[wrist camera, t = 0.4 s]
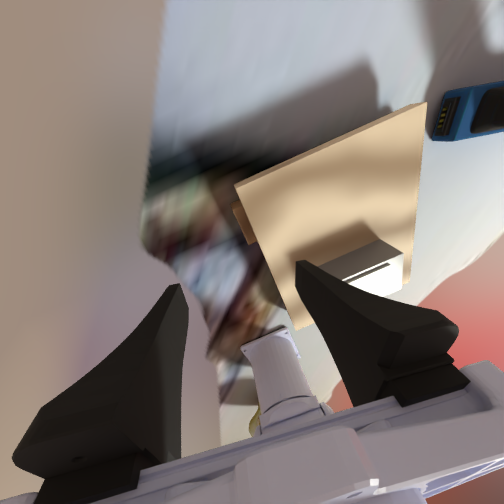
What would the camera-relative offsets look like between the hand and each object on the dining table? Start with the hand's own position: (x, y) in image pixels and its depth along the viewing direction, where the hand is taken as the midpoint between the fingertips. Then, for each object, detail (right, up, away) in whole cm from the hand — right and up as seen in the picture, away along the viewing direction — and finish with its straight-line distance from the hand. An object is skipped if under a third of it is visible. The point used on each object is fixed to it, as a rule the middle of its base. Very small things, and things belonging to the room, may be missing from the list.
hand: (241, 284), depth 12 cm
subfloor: (+10, +4, +11) cm, 15 cm away
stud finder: (+12, 0, +10) cm, 15 cm away
